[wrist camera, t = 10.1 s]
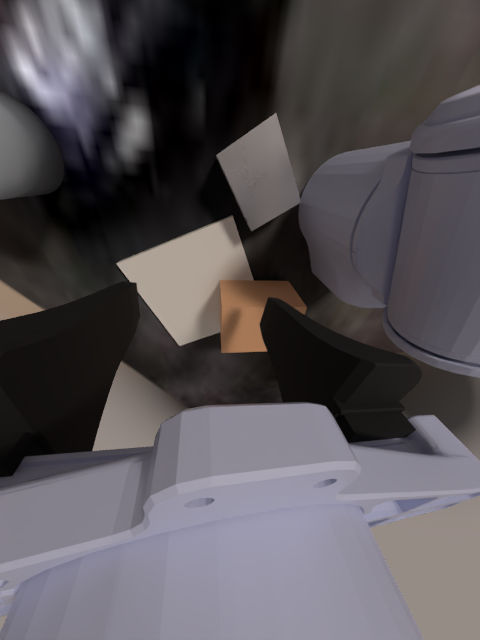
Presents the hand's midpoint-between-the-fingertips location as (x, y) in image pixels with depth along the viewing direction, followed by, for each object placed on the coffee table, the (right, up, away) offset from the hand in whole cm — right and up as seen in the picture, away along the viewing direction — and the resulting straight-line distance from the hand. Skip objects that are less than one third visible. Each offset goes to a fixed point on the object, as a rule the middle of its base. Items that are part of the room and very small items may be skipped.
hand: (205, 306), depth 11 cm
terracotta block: (0, 0, +8) cm, 8 cm away
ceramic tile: (-2, +2, +9) cm, 10 cm away
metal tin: (+3, +10, +4) cm, 12 cm away
